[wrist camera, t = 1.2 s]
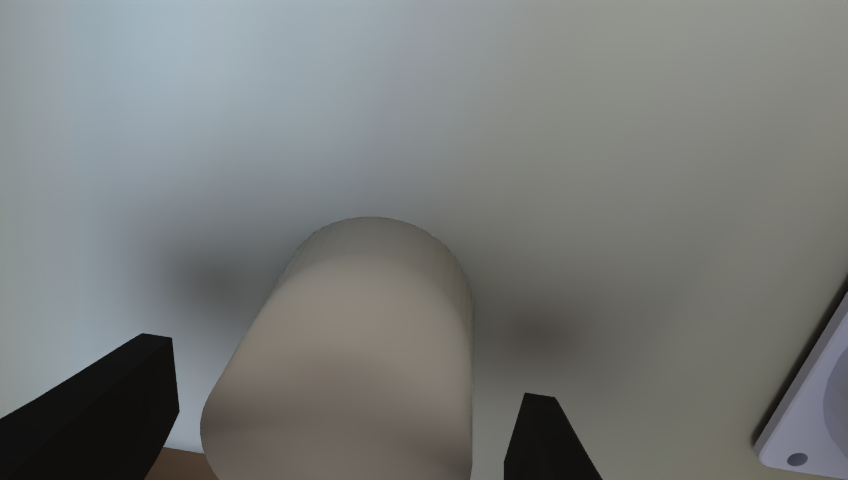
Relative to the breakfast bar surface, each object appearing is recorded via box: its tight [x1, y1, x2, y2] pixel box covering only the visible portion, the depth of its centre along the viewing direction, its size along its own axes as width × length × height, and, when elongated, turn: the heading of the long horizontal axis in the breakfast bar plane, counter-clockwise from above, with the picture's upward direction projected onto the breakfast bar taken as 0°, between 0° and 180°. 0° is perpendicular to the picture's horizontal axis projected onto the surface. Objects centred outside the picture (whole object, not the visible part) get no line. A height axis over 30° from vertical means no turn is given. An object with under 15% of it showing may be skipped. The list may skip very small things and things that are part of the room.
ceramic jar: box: [200, 217, 472, 480], centre depth 12 cm, size 5×5×5 cm
